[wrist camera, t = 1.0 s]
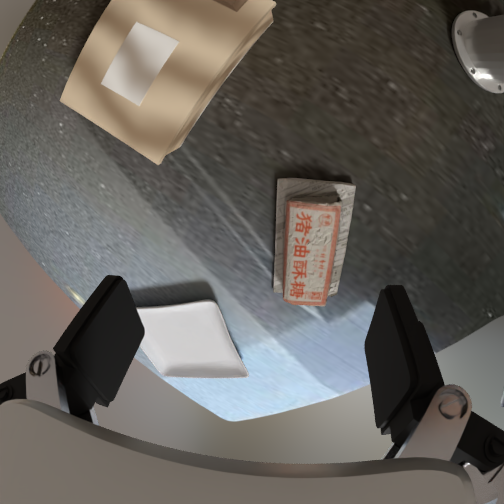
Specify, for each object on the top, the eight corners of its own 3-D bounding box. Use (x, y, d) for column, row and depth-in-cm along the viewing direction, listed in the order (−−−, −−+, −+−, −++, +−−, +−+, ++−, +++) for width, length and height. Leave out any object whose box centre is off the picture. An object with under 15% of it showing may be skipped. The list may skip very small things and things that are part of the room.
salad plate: (120, 299, 51) (113, 310, 48) (219, 287, 46) (214, 301, 43) (166, 366, 61) (162, 377, 58) (252, 364, 56) (250, 378, 53)
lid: (151, -45, 15) (138, -55, 12) (276, 4, 19) (274, -6, 16) (63, 100, 25) (46, 103, 22) (161, 163, 29) (147, 171, 26)
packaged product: (339, 311, 39) (271, 308, 40) (335, 290, 43) (273, 287, 44) (362, 193, 30) (275, 187, 31) (353, 181, 34) (277, 175, 35)
